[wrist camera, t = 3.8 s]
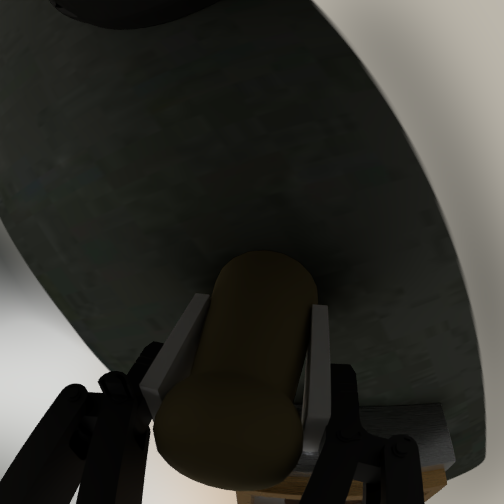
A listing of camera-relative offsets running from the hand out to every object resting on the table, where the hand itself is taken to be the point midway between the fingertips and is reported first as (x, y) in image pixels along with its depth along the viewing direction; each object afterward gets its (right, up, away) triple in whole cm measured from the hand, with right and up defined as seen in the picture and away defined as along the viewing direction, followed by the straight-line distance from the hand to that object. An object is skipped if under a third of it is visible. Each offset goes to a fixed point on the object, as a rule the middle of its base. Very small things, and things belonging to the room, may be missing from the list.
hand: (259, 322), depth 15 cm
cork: (0, +1, +2) cm, 2 cm away
